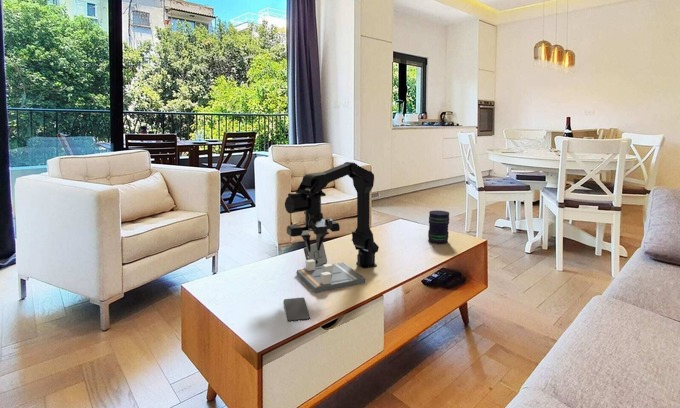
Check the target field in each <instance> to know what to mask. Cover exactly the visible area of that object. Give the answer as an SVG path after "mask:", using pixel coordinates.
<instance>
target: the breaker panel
mask: <svg viewBox="0 0 680 408" xmlns="http://www.w3.org/2000/svg"><path fill="white" fill-rule="evenodd" d="M330 264H331V265H333V274H332V275H331V283H330V284H324V285H323V284H322V283H321V273H323V265H320V266H317V267H315V270H311V271H308V270H307V269H306V268H302V269H297V270H296V276H297V277H298V278H299V279H301V281H302V282H304V284H305V285H306V286H307V287H309V289H310V290H311V291H312V292H313V293H315V294H317V293H321V292H322V293H323V292H327V291H333V290H338V289H344V288H349V287H353V286H359V285H364V284H366V282H367V281H366V280H367V278H366V277H364V276H363V275H362V274H361V273H359V272H357V271H356V270H354V269H353V268H352V267H350V266H349V265H348V264H346V263H344V262H337V263H330Z"/></svg>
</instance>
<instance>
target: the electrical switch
mask: <svg viewBox="0 0 680 408" xmlns="http://www.w3.org/2000/svg"><path fill="white" fill-rule="evenodd" d="M310 247H311V250H310V252H309V251H308V249H307V247H304V248H303V252H304V257H305V261H306V260H311V259H313V260H314V261H315V267H319V266H323V265H324V264H328V259H327V258H328V257H327V254H326V250H325V243H324V241H322V244H321V247H320V249H319V251H318V250H317V246H316V242H315V243H312V244H310Z"/></svg>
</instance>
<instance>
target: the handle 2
mask: <svg viewBox="0 0 680 408" xmlns="http://www.w3.org/2000/svg"><path fill="white" fill-rule="evenodd" d="M321 283H322V284H323V285H324V284H330V283H331V273H330V272H323V273H321Z"/></svg>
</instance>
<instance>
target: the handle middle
mask: <svg viewBox="0 0 680 408" xmlns="http://www.w3.org/2000/svg"><path fill="white" fill-rule="evenodd" d="M331 264H332V263H324V264H322V266H323V272H330V273H331V275H332V274H333V265H331Z"/></svg>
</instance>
